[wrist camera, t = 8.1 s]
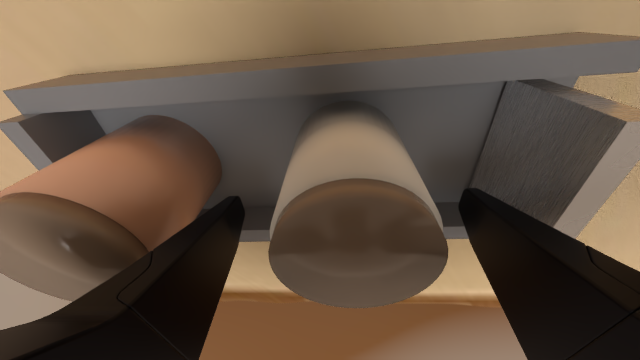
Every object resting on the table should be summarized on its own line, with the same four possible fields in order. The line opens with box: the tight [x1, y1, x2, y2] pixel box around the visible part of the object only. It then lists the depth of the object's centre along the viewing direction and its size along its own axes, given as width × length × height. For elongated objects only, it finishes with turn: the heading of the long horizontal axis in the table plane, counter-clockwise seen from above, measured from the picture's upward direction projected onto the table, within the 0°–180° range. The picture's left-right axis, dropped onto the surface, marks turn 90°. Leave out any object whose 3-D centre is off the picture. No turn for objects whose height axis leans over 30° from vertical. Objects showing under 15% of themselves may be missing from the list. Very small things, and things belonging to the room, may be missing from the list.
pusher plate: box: [469, 79, 640, 239], centre depth 10 cm, size 1×7×5 cm, turn 5°
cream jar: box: [269, 101, 448, 308], centre depth 10 cm, size 6×6×7 cm
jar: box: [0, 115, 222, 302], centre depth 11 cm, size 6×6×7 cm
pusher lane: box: [0, 32, 640, 242], centre depth 12 cm, size 24×10×4 cm, turn 95°
